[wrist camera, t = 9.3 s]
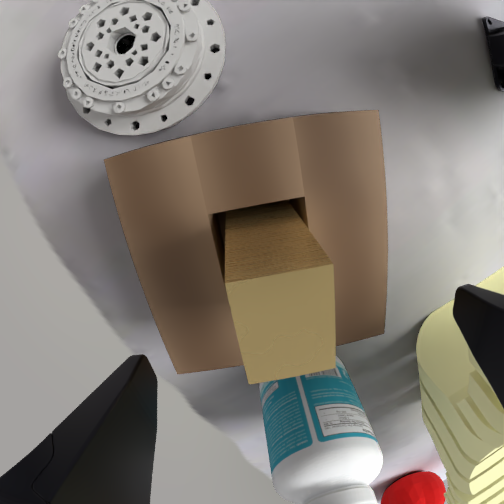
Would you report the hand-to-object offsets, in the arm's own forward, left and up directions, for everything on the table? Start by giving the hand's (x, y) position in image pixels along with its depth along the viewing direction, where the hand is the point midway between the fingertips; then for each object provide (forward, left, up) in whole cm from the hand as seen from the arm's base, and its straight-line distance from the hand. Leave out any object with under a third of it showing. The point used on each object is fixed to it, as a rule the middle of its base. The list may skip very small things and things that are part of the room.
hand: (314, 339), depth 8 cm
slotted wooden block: (+1, +1, -13) cm, 13 cm away
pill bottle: (-1, +15, -13) cm, 20 cm away
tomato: (-17, +51, -13) cm, 55 cm away
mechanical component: (+5, -11, -13) cm, 18 cm away
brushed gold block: (+1, +1, -11) cm, 11 cm away
